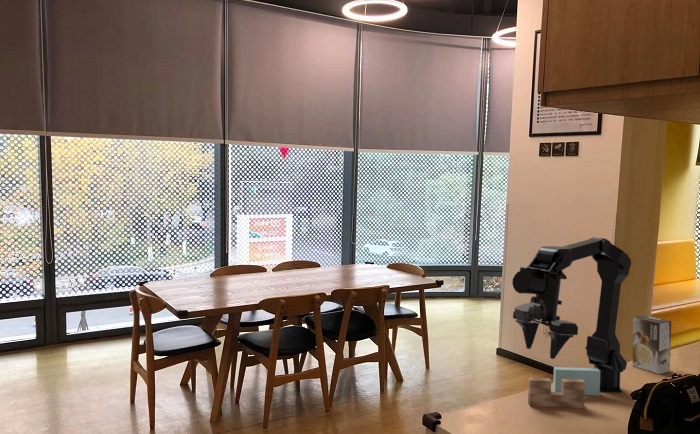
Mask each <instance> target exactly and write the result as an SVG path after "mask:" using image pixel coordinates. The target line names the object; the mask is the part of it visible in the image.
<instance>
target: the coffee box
mask: <svg viewBox="0 0 700 434" xmlns="http://www.w3.org/2000/svg"><path fill="white" fill-rule="evenodd" d="M632 319H633V322H632V323H633V326H632V327H633V329H632V330H633V331H632V332H633V334H632V367H635V368H638V369H642V370H645V371H647V372H650V373H654V374H657V375H662V374H664V373H667V372H670V371H671V341H672V340H671V337H672V320H668V319H664V318H660V317H659V318H658V317H656V316H652V315H648V314H647V315H646V314H643V315H637V316H634V317H633V318H632Z"/></svg>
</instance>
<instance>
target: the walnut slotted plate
mask: <svg viewBox="0 0 700 434" xmlns="http://www.w3.org/2000/svg"><path fill="white" fill-rule="evenodd" d="M527 379H528V382H527V385H528V388H527V404H528V406H529V407H548V408H569V409H570V408H571V409H572V408H573V409H574V408H575V409H585V398H586V395H585V382H584V381H583V379H562V381H561V392H553V391H552V380H551V379H550V378H547V377H528V378H527Z"/></svg>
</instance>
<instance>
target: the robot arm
mask: <svg viewBox="0 0 700 434" xmlns="http://www.w3.org/2000/svg"><path fill="white" fill-rule="evenodd" d="M588 257H591V258H592V259H593V260H594V262H595V263H596V270H597V274H598V276H599V277H600V281H601V285H600V293H599V294H600V295H599V301H598V308H597V310H598V311H597V319H596V327H595V331H594V332H593V334H592V335H588V336H587V337H586V346H585V350H586V356H587V359H588V362H589V364H590V365H593V368H597V369H599V370H600V392H612V393H613V392H616V393H617V392H619V393H622V392H623V389H622V388H621V373H623V372H624V371H625V370H626V369H627V364H628V362H627V361H626V359H625V358H624V356H623V355H622V354H621V343H620V341H619V340H618V337H617V335H616V329H617V320H618V313H619V305H620V304H619V303H620V295H621V288H622V286H621V285H622V283H623V282H624V281H625V279H626V278H627V277H628V276H629V274H630V269H631V265H632V259H631V257H630V256H629V254H628V253H626V251H624V250H623V249H621V248H620V247H618V246H616V245H614V244H613V243H612V242H611V241H610V240H609V239H607V238H605V237H603V238H602V237H595V236H594V237H590V238H588V239H584V240H581V241H578V242H575V243H571V244H567V245H564V246H557V245H556V246H553V245H551V246H541V247H540V248H538V251H537V252H536V254H535V255H534V256H533V258H532V260H531V261H530V262H529V264H528V265H527V267H526V266H520V268H519V271H517V272H516V273H515V274H514V276H513V278H512V287H513V290H514V291H515V292H516V293H518V294H522V295H523V294H525V295H526V294H527V295H531V297H530V302H528V303H523V304H520V305H517V306H515V307H514V310H513V313H512V318H513V319H515V322H516V323H517V324H518V325H519V326H520V327H521V329H522V332H523V333H522V334H523V337H524V342H525V347H526V349H527V350H531V348H532V346H533V344H534V341H535V338H536V335H537V332H538V328H539V325H540V324H541V325H542V326H543V325H544V326H547V327H548V328H549V331H547V333H548V335H549V337H550V347H549V348H550V350H549V351H550V352H549V355H550V356H549V358H550V359H552V360H553V359H555V358H557V356H558V354H559V353H560V351H561V350H562V349H563V347H565V345H566V343H567V342H568V341H569V340H570V338H573V337H574V336H578V334H579V333H578V332H579V325H577V323H576V322H575V323H574V322H572V321H569V320H562V319H561V316H559V315H557V313H558V306H560V305H562V303H563V301H562V300H560V299H559V297H560V289H561V283H562V282H561V281H562V280H567V278H568V277H567V275H566V274H565V273H564V272H563V270H565V269H567V268H569V267H570V266H571V265H572V263H573V262H575V261H577V260H581V259H585V258H588ZM532 295H535V296H532Z"/></svg>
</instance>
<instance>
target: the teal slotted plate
mask: <svg viewBox="0 0 700 434" xmlns="http://www.w3.org/2000/svg"><path fill="white" fill-rule="evenodd" d="M552 378H553V385H552V390H553V391H552V392H561V381H562V379H583V381H584V382H585V396H596V397H597V396H600V395H601V393H600V392H601V391H600V370H599V369H597V368H594V367H593V368H592V367H590V368H589V367H563V366H562V367H561V366H553V377H552Z"/></svg>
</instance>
